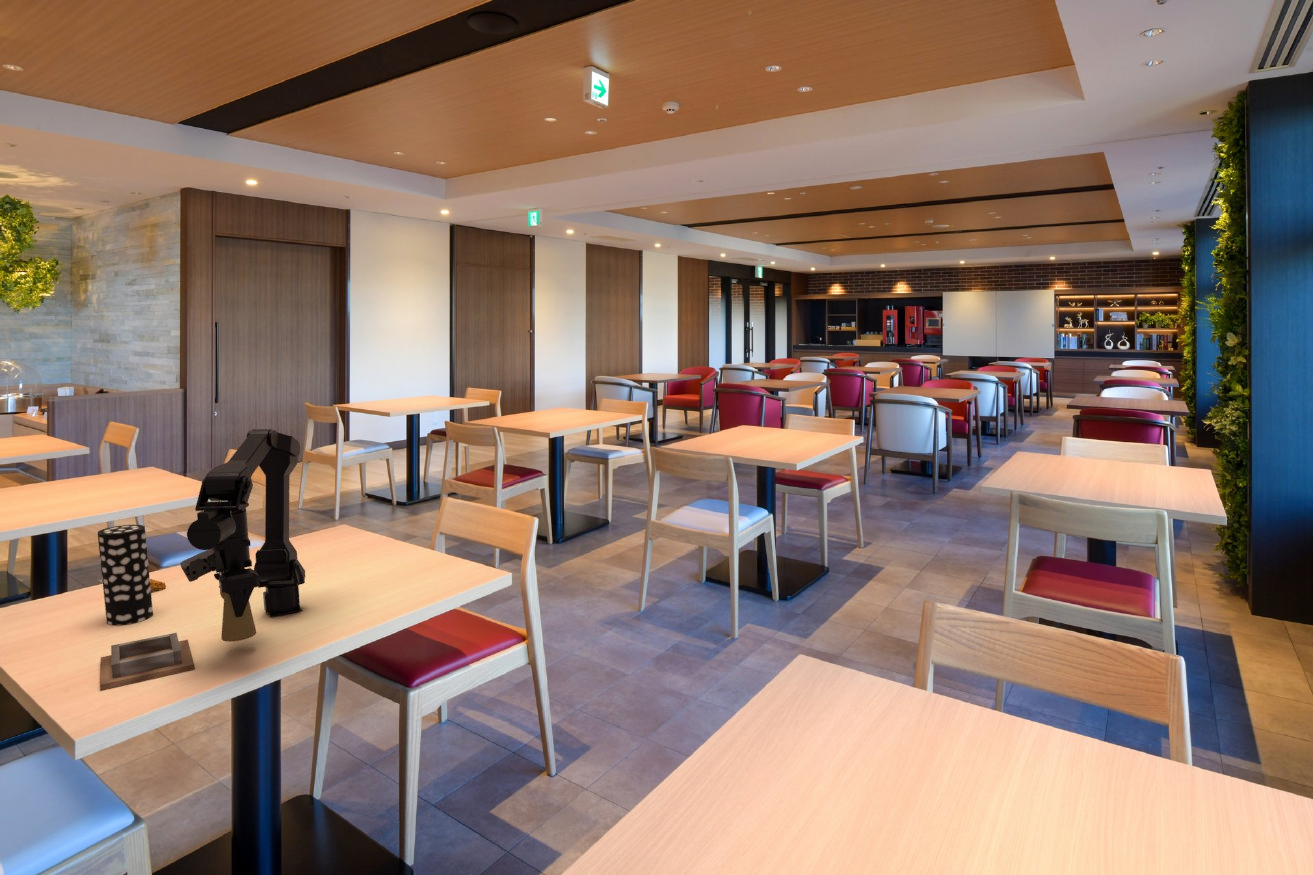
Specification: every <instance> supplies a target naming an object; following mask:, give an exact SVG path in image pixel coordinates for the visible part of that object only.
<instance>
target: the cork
mask: <svg viewBox="0 0 1313 875" xmlns="http://www.w3.org/2000/svg"><path fill="white" fill-rule="evenodd" d="M219 594H220V597H221V599H223V609H222V610H223V611H222V623H221V636H220V637H221V641H224V642H240V641H243V640H247V639H251V638H253V637H254V636H256V634H257V629H256V624H255V621H254V616H253V612H252V608H251V604H250V600H249V601H248V603H247V606H246V608H245V611H244V613H243V616H242V617H236V616H235V613H234V610H233V606H232V603H231V600H230V597H229V594H227V593H222V592H221V590H220V589H219Z"/></svg>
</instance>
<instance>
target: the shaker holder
mask: <svg viewBox="0 0 1313 875" xmlns="http://www.w3.org/2000/svg"><path fill="white" fill-rule="evenodd" d="M110 647H111V648H110V652H111V653H110V655H105V656H104V655H103V656H101V657H100V665H99V666H100V668H99V670H100V671H99V675H100V676H99V687H100V688H99V689H100V691H103V690H104V691H105V690H108V688H109V689H113V688H114V689H115V688H117V687H121V686H126V685H130V684H135V683H140V682H144V681H148V680H153V679H157V678H161V677H166V676H170V675H175V674H179V673H180V674H181V673H183V672H188V671H193V670H195V667H196V666H195V663H194V658H193V654H192V651H191V647H190V643H189V640H188V639H183V640H179V637H178V632H172V633H168V634H163V635H158V636H153V637H152V636H151V637H147V638H141V639H138V640H137V639H136V640H132V641H127V642H123V643H117V644H112V645H111V646H110Z"/></svg>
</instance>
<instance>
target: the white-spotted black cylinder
mask: <svg viewBox="0 0 1313 875" xmlns="http://www.w3.org/2000/svg"><path fill="white" fill-rule="evenodd" d="M146 536H147V534H146V526H145V525H142V524H122V525H115V526H110V527H105V528H102V529H100V530H98V531H97V541H98V551H99V562H100V570H101V578H102V579H101V581H102V590H103V599H104V608H105V618H106V623H107V624H108V625H110V626H126V625H132V624H136V623H139V622H140V623H141V622H143V621H146V620H148V619H150V618H151V617H153V616H154V611H153V610H154V609H153V600H152V599H153V598H152V590H151V587H150V579H151V577H150V569H149V568H150V567H149V566H150V565H149V558H148V546H147V537H146Z"/></svg>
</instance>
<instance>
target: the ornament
mask: <svg viewBox="0 0 1313 875" xmlns="http://www.w3.org/2000/svg"><path fill="white" fill-rule="evenodd" d="M150 587H151V591H152V590H155V591H158V590H160V589H162V590H164V588H165V589H166V588H167V585H166V583H165V582H163V581H159V580H155V579H154V578H153V579H152V578H150Z"/></svg>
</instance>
